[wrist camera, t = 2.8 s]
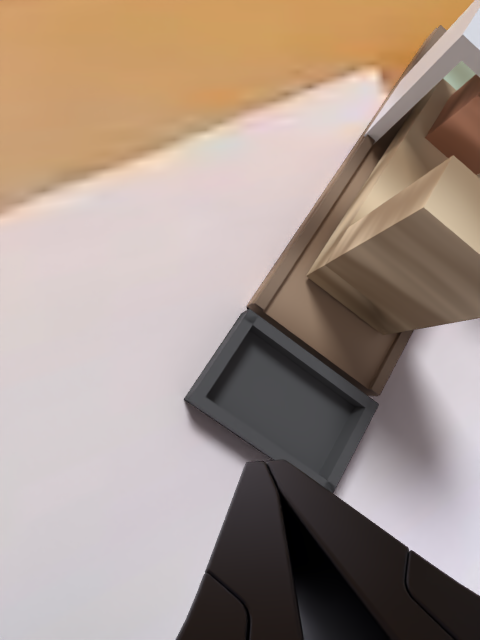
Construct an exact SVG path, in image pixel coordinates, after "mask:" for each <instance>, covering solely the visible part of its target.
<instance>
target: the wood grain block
mask: <svg viewBox="0 0 480 640" xmlns="http://www.w3.org/2000/svg"><path fill="white" fill-rule="evenodd" d="M306 276H307V277H308V278H309V279H311V280H312V281H313V282H315V283H316V284H317V285H318V286H320V287H321V288H322V289H324V290H325V291H326V292H328V293H329V294H330V295H331V296H333V297H334V298H335V299H337V300H338V301H339V302H341V303H342V304H343V305H344V306H346V307H347V308H348V309H350V310H351V311H352V312H354V313H355V314H356V315H357V316H359V317H360V318H361V319H363V320H364V321H365V322H366V323H368V324H369V325H370V326H372V327H373V328H374V329H376V330H377V331H378V332H379V333H381V334H382V335H388V334H393V333H399V332H404V331H410V330H416V329H421V328H427V327H432V326H438V325H443V324H449V323H454V322H460V321H466V320H471V319H477V318H480V77H479V76H478V75H477V74H475V75H474V76H473V77H472V78H471V79H470V80H468V81H467V82H466V83H465V84H464V85H463V86H462V87H460V88H459V89H458V90H455V89H454V88H453V87H452V86H451V85H450V84H449V83H448V82H447V81H446V80H444V79H442V80H441V81H440V82H439V83H437V84H436V85H435V86H434V87H433V88H432V89H431V90H430V91H429V92H428V93H427V94H426V95H425V96H424V97H423V98H422V99H421V100H420V101H419V102H418V103H416V104H415V106H414V108H413V109H412V111H411V112H410V114H409V115H408V117H407V118H406V120H405V122H404V123H403V125H402V126H401V128H400V129H399V131H398V133H397V134H396V136H395V137H394V139H393V140H392V142H391V144H390V145H389V147H388V148H387V150H386V151H385V153H384V154H383V156H382V158H381V159H380V161H379V162H378V164H377V165H376V167H375V169H374V170H373V172H372V173H371V175H370V176H369V178H368V180H367V181H366V183H365V184H364V186H363V187H362V189H361V190H360V192H359V194H358V195H357V197H356V198H355V200H354V201H353V203H352V205H351V206H350V208H349V209H348V211H347V212H346V214H345V215H344V217H343V219H342V220H341V222H340V223H339V225H338V226H337V228H336V230H335V231H334V233H333V234H332V236H331V237H330V239H329V241H328V242H327V244H326V245H325V247H324V248H323V250H322V251H321V253H320V255H319V256H318V258H317V259H316V261H315V262H314V264H313V266H312V267H311V269H310V270H309V272H308V273H307V275H306Z"/></svg>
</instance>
